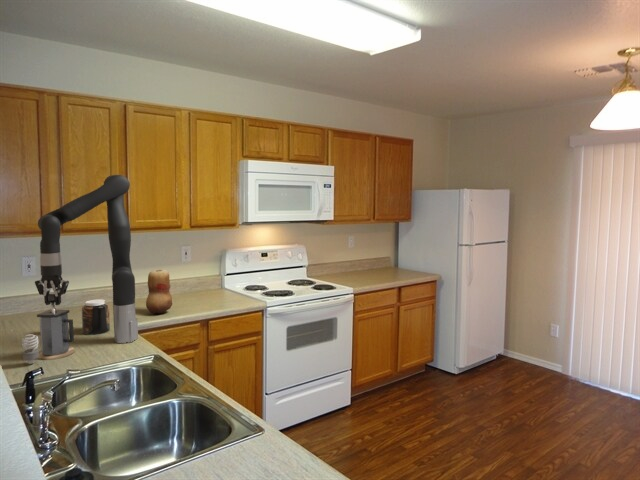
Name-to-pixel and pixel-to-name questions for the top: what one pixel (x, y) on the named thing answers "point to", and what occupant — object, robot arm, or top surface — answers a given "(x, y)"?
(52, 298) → the plunger
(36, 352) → the light bulb
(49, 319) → the carafe
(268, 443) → the top surface
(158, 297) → the butternut squash
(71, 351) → the disc
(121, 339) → the robot arm
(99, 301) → the jar
